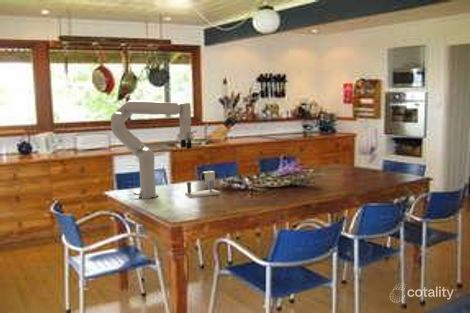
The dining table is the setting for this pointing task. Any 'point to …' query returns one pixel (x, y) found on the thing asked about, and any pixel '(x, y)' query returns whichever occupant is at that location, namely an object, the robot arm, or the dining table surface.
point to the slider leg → (210, 184)
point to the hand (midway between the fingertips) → (186, 147)
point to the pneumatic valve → (208, 176)
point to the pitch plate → (199, 192)
